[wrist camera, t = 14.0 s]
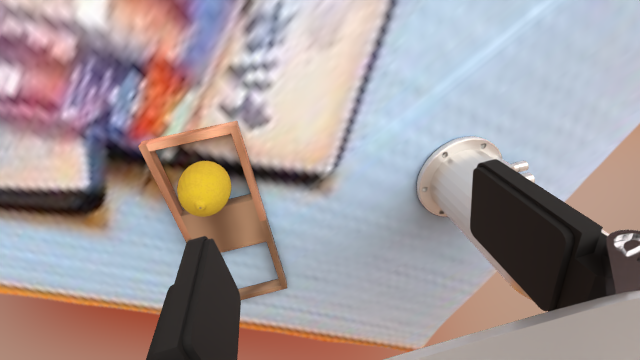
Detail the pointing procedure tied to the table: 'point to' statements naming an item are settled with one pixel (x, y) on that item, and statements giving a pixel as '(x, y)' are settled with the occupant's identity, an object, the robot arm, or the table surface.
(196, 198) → the lemon
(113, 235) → the table surface
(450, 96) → the table surface
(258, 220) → the wooden frame
